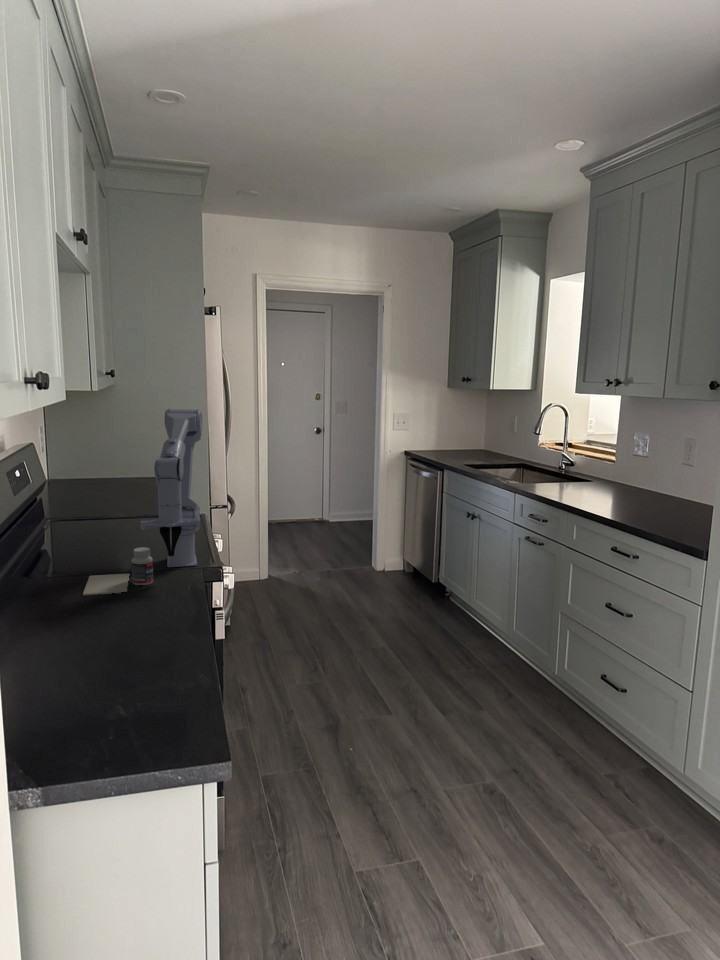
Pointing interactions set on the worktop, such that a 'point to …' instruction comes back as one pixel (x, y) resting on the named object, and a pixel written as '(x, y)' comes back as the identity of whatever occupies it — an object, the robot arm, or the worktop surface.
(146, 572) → the pill bottle
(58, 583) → the worktop surface
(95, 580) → the mat
